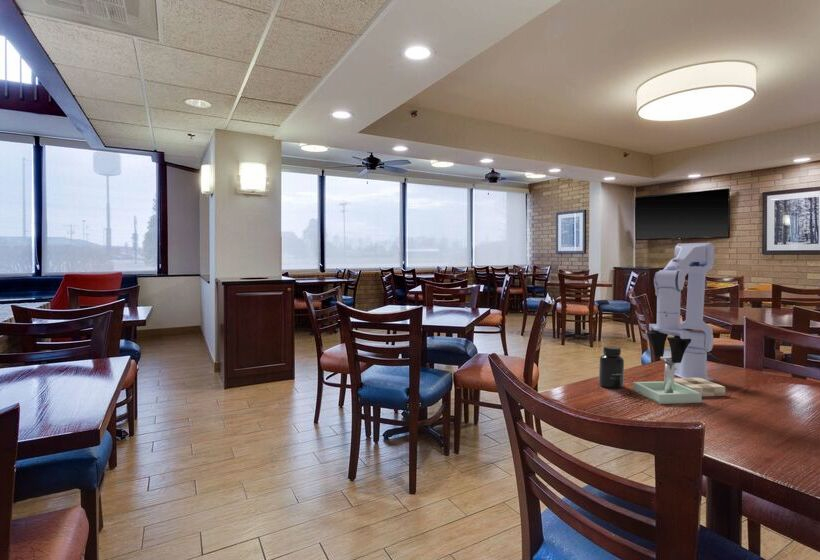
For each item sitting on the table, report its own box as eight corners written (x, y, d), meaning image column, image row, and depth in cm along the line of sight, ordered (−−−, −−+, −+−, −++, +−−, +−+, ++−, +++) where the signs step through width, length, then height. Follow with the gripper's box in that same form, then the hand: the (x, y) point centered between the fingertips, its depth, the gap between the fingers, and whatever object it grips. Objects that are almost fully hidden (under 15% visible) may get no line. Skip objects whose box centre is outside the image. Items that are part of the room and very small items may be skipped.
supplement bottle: (617, 390, 128) (618, 350, 127) (595, 385, 133) (595, 347, 133) (627, 386, 133) (627, 347, 132) (605, 381, 138) (605, 344, 137)
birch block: (668, 386, 132) (668, 378, 132) (699, 385, 133) (699, 377, 133) (691, 396, 122) (691, 387, 122) (725, 395, 123) (725, 386, 123)
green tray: (633, 390, 128) (633, 382, 128) (671, 389, 129) (671, 381, 129) (659, 403, 116) (659, 394, 116) (701, 402, 117) (701, 393, 117)
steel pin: (659, 390, 125) (661, 358, 125) (670, 390, 126) (671, 358, 125) (667, 394, 122) (668, 361, 121) (677, 394, 122) (679, 361, 122)
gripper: (639, 309, 129) (638, 354, 130) (672, 315, 115) (671, 366, 116) (662, 309, 130) (661, 353, 131) (697, 315, 115) (696, 365, 116)
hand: (667, 359), depth 123 cm, fingers open, 7 cm apart
